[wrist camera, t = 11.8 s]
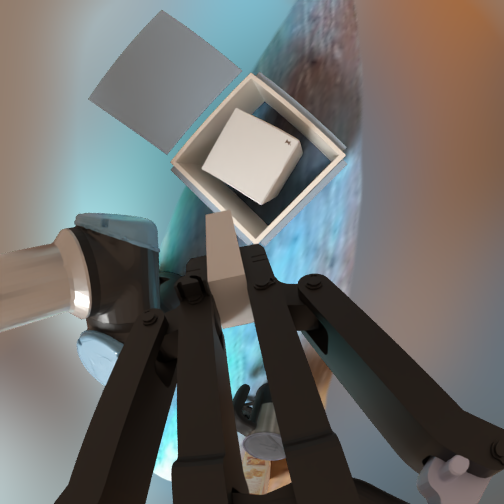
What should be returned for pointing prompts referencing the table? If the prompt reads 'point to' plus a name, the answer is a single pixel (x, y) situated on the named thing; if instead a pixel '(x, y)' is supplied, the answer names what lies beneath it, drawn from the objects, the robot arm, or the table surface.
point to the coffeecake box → (256, 474)
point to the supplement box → (253, 156)
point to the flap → (164, 81)
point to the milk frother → (258, 424)
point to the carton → (218, 193)
